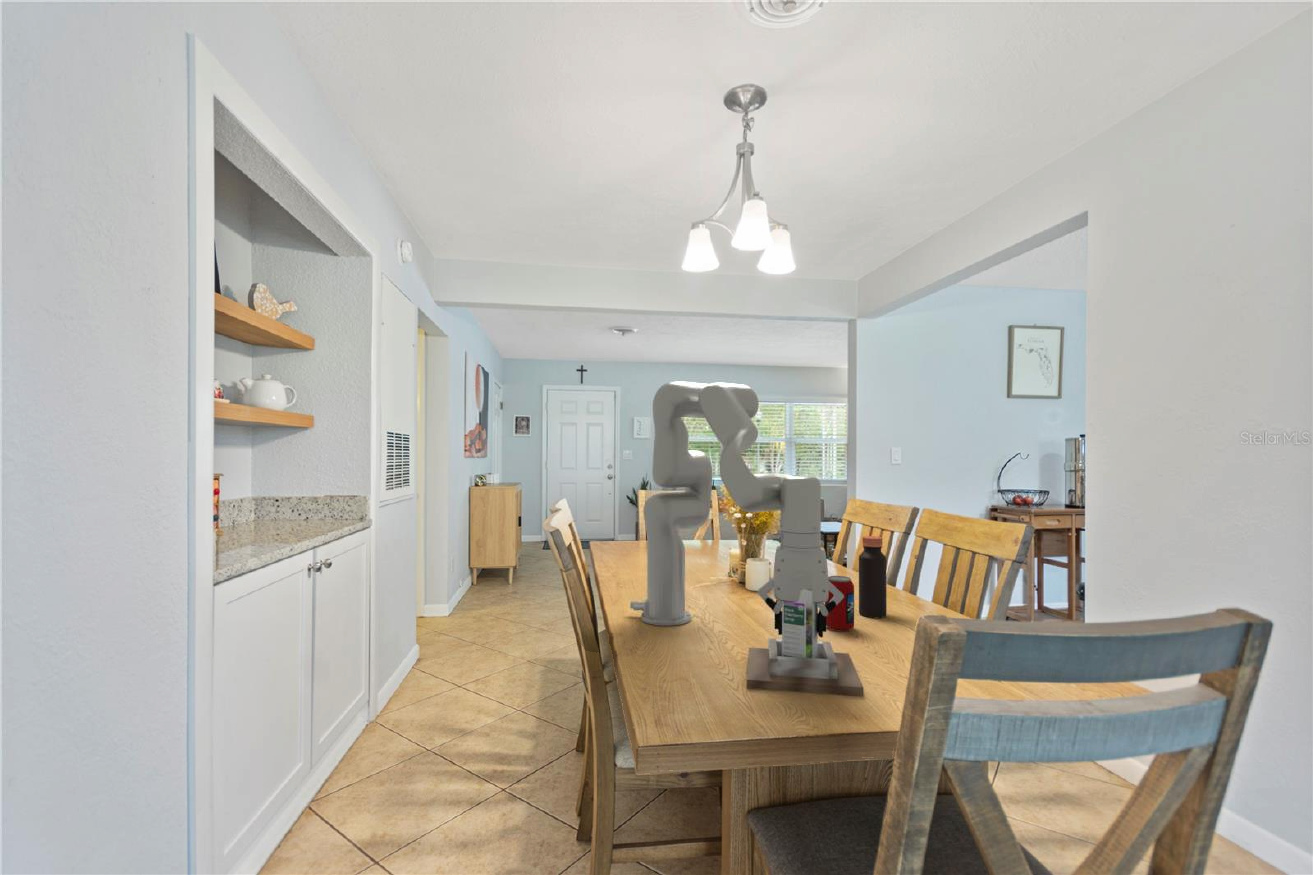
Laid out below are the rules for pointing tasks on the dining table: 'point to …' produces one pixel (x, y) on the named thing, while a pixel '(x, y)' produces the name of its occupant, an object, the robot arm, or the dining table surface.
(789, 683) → the collar board
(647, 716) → the dining table surface
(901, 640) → the dining table surface
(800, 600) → the syrup box
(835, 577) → the beverage can
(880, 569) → the bottle
